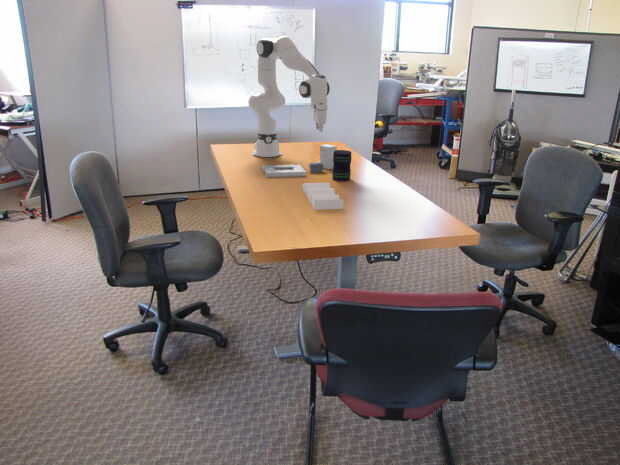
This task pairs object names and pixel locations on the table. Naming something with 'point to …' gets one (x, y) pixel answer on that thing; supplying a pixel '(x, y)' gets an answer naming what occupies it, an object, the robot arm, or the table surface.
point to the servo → (316, 167)
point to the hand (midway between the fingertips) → (319, 130)
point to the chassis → (283, 170)
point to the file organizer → (322, 196)
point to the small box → (327, 155)
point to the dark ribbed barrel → (341, 165)
